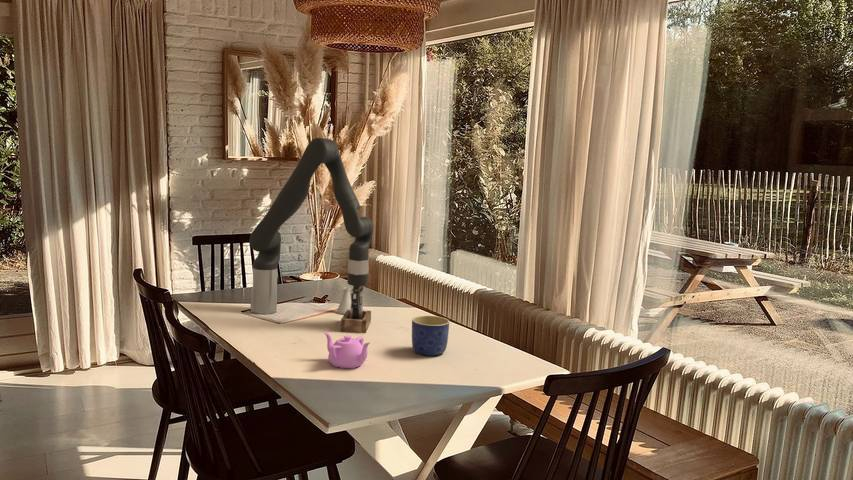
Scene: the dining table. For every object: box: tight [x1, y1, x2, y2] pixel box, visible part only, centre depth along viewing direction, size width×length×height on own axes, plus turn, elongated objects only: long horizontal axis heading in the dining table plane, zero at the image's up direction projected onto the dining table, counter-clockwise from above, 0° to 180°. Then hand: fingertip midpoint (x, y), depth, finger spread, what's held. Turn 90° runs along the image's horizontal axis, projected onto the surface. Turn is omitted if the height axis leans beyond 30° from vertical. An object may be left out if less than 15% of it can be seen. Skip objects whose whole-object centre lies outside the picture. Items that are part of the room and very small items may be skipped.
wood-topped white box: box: [350, 301, 364, 320], centre depth 259 cm, size 4×4×9 cm
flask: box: [336, 286, 352, 315], centre depth 279 cm, size 7×7×10 cm
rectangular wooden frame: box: [340, 309, 372, 334], centre depth 259 cm, size 9×15×4 cm, turn 177°
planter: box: [411, 315, 450, 356], centre depth 233 cm, size 12×12×11 cm
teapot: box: [323, 331, 371, 369], centre depth 217 cm, size 12×14×9 cm
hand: (356, 316), depth 259 cm, fingers open, 4 cm apart
